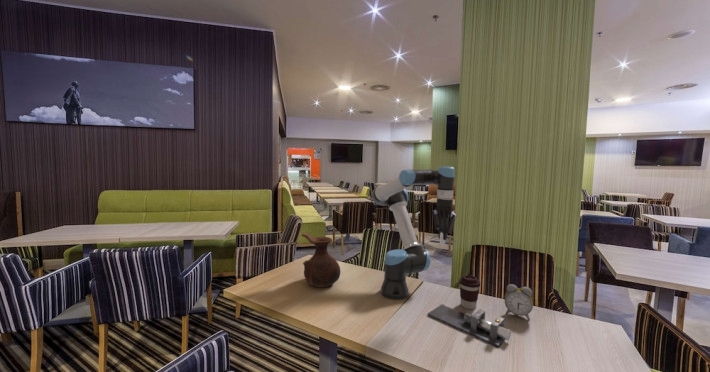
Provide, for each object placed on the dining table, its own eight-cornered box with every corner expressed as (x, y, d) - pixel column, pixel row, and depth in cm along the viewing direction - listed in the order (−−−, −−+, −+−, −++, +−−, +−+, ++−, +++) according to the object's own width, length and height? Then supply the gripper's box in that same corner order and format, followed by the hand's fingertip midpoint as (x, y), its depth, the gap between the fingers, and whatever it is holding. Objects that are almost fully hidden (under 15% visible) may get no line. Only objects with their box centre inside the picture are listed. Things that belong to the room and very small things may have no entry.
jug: (320, 273, 186) (321, 227, 184) (347, 281, 174) (348, 232, 171) (295, 284, 169) (295, 233, 166) (322, 295, 156) (323, 240, 153)
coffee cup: (480, 312, 141) (482, 282, 140) (459, 309, 143) (461, 280, 142) (476, 302, 151) (478, 274, 150) (456, 300, 153) (458, 272, 152)
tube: (462, 322, 130) (463, 314, 129) (466, 319, 132) (467, 311, 132) (507, 342, 116) (507, 332, 116) (510, 337, 119) (511, 328, 119)
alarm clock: (503, 315, 139) (505, 285, 138) (503, 309, 145) (505, 280, 144) (531, 322, 133) (534, 290, 132) (530, 315, 139) (533, 285, 138)
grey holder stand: (427, 315, 137) (428, 299, 137) (441, 306, 146) (442, 291, 146) (498, 347, 114) (499, 329, 114) (509, 334, 123) (511, 317, 123)
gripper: (428, 197, 143) (426, 243, 146) (453, 200, 134) (450, 250, 136) (437, 196, 148) (434, 241, 151) (461, 199, 139) (458, 247, 141)
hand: (442, 245), depth 143 cm, fingers closed
